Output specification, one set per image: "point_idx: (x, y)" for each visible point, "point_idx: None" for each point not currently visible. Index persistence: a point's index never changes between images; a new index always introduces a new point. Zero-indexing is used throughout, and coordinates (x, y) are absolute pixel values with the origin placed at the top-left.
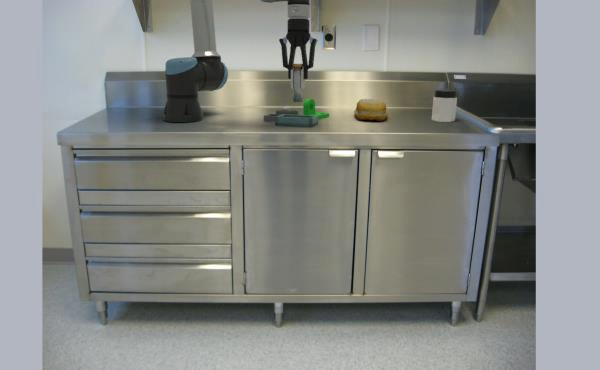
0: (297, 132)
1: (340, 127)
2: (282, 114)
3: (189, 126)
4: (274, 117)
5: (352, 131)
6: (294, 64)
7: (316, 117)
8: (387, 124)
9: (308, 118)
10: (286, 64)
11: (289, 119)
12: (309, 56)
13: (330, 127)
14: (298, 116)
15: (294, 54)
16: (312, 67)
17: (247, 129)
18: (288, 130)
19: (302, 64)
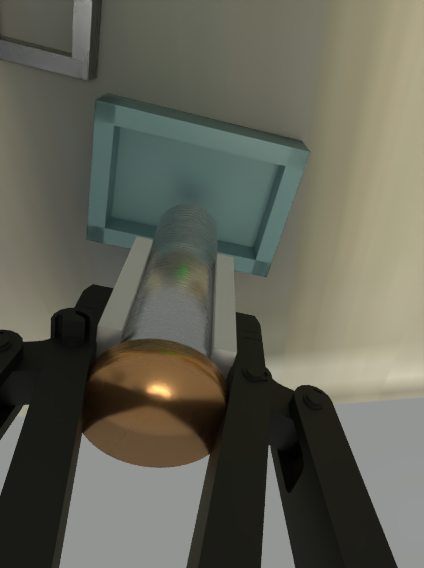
0: None
1: (388, 246)
2: (96, 121)
3: None
4: (43, 67)
5: (404, 338)
6: (120, 452)
7: (293, 195)
8: None
9: (249, 273)
10: (15, 406)
11: None
12: (296, 555)
13: (343, 251)
14: (195, 143)
15: (64, 514)
16: (320, 392)
17: (28, 336)
18: None
19: (207, 448)
